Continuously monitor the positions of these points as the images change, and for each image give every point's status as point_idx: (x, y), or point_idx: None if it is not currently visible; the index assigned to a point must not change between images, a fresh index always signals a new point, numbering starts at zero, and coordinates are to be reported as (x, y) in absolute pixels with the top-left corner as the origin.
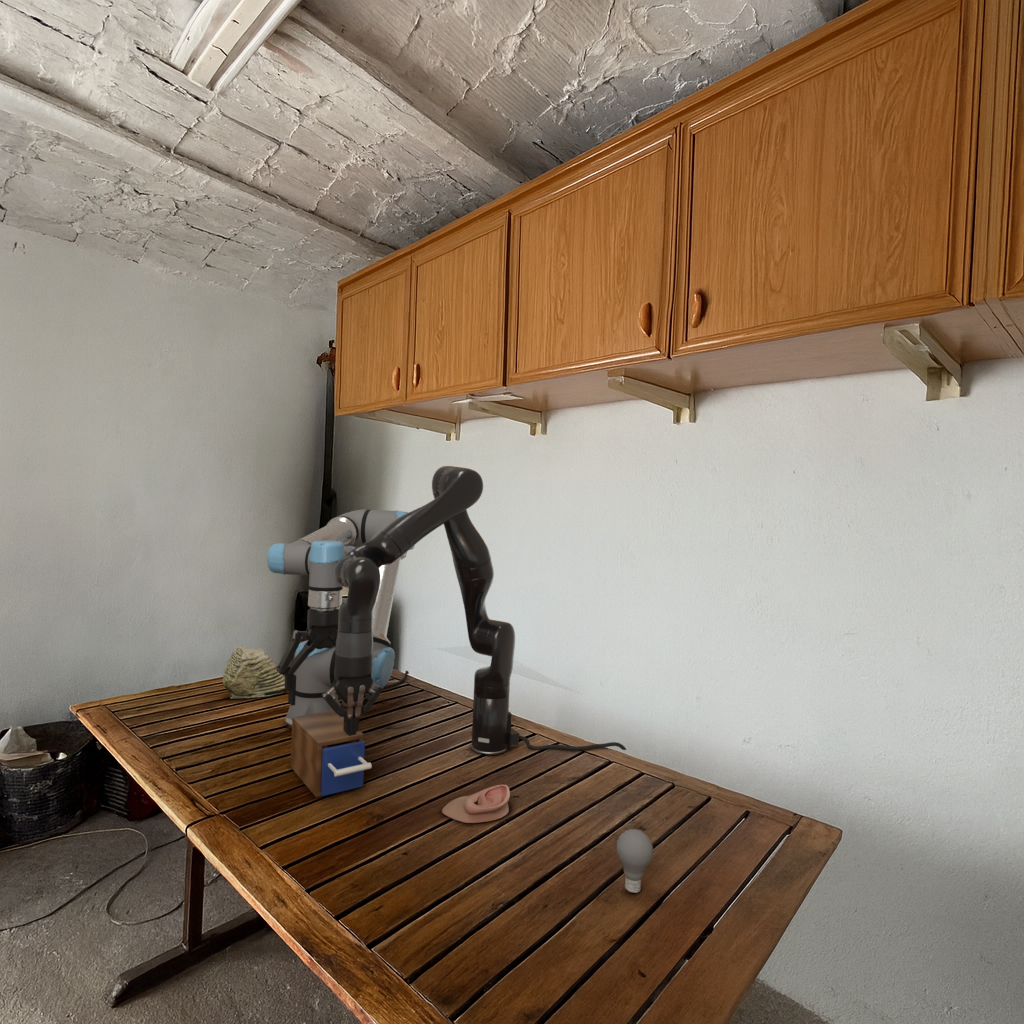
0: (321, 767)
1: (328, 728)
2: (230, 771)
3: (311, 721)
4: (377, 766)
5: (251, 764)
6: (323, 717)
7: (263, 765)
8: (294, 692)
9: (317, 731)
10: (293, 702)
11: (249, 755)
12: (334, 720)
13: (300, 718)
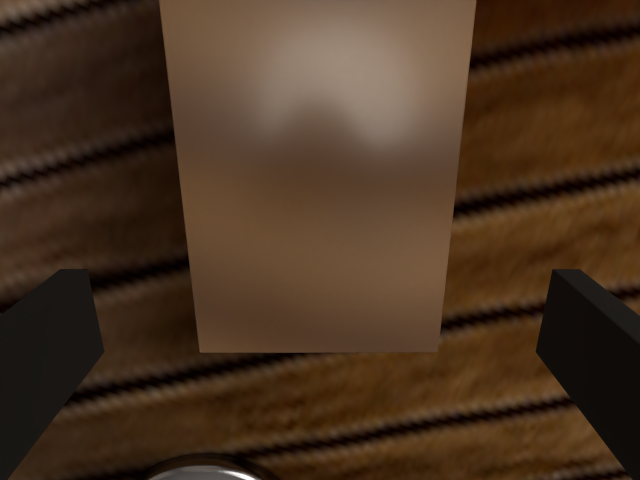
0: None
1: (328, 84)
2: None
3: (373, 250)
4: (110, 96)
5: (490, 323)
6: (291, 279)
7: (462, 300)
8: (628, 325)
9: (408, 67)
10: (580, 278)
11: (469, 386)
12: (249, 202)
13: (407, 319)
